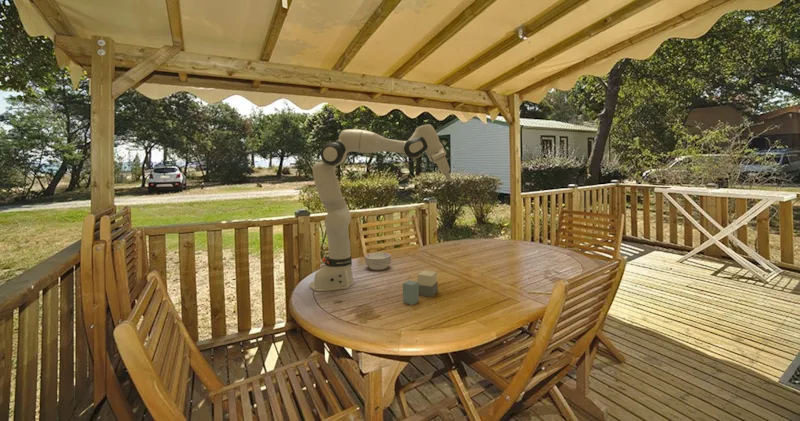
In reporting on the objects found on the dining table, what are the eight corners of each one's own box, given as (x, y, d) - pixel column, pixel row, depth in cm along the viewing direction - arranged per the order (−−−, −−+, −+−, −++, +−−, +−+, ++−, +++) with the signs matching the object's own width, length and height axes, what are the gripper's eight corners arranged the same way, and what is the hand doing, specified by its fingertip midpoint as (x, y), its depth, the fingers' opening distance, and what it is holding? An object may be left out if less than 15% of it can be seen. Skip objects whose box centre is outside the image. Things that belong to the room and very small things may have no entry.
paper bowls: (361, 266, 220) (361, 253, 219) (385, 263, 226) (384, 251, 225) (370, 273, 206) (370, 259, 205) (395, 269, 213) (395, 256, 212)
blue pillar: (412, 305, 159) (412, 285, 158) (403, 302, 162) (402, 283, 161) (418, 301, 163) (418, 282, 162) (409, 299, 166) (409, 280, 165)
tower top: (432, 286, 169) (432, 276, 168) (417, 284, 171) (417, 274, 171) (436, 282, 175) (436, 271, 175) (422, 280, 178) (422, 270, 177)
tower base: (432, 297, 169) (432, 287, 168) (416, 295, 172) (416, 285, 171) (437, 291, 176) (437, 281, 175) (421, 289, 179) (421, 280, 178)
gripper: (430, 157, 190) (442, 181, 191) (432, 158, 169) (445, 184, 171) (441, 152, 189) (453, 175, 191) (444, 151, 169) (457, 178, 170)
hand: (449, 179), depth 181 cm, fingers open, 8 cm apart
